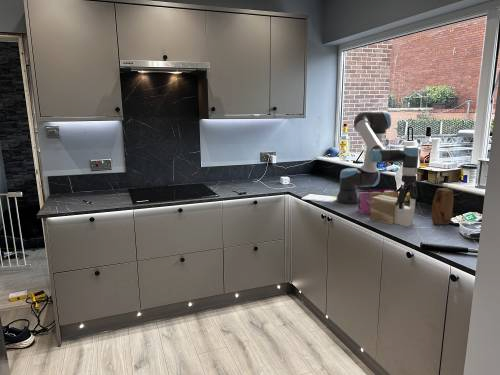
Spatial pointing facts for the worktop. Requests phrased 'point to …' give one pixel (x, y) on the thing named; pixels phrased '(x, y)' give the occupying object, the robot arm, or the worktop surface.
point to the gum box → (366, 196)
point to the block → (442, 206)
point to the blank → (404, 216)
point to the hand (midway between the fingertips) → (406, 212)
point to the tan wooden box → (383, 208)
